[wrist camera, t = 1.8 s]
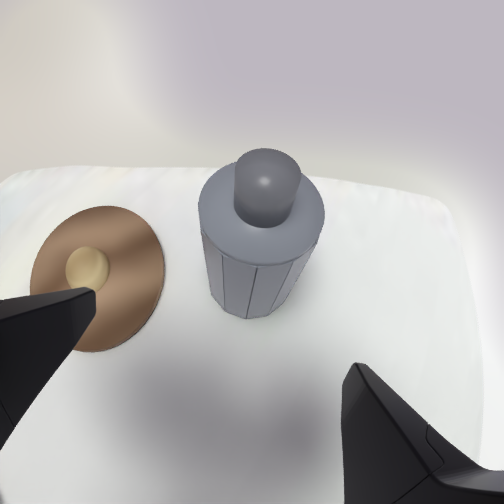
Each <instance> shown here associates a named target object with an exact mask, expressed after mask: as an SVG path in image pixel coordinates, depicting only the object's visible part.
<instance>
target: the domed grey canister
mask: <svg viewBox="0 0 504 504" xmlns="http://www.w3.org/2000/svg"><path fill="white" fill-rule="evenodd" d="M198 211H199V219H200V228H201V235H202V242H203V248H204V254H205V260H206V266H207V272H208V278H209V284H210V290H211V295H212V296H213V298H214V299H215V300H216V301H217V302H218V304H219V305H220V306H221V307H222V308H223V310H224V311H225V312H228V313H231V314H233V315H236V316H239V317H241V318H244V319H250V318H256V317H262V316H267V315H269V314H270V313H271V312H273V311H274V310H275V309H276V308H277V307H279V306H280V305H281V304H282V303H283V302H284V301H285V299H286V297H287V296H288V294H289V292H290V290H291V289H292V287H293V285H294V284H295V282H296V280H297V278H298V277H299V275H300V273H301V271H302V269H303V268H304V266H305V264H306V262H307V261H308V259H309V257H310V255H311V253H312V252H313V250H314V248H315V246H316V244H317V242H318V238H319V235H320V232H321V230H322V227H323V224H324V218H325V211H324V204H323V201H322V198H321V196H320V194H319V192H318V190H317V189H316V187H315V186H314V184H313V183H312V182H311V181H310V180H309V179H308V178H307V177H306V176H305V175H303V174H302V173H301V170H300V168H299V166H298V164H297V163H296V162H295V160H293V158H291V157H290V156H288V155H287V154H285V153H283V152H281V151H278V150H274V149H266V148H261V149H255V150H251V151H249V152H247V153H245V154H243V155H242V156H241V157H240V158H239V159H238V161H237V162H234V163H231V164H229V165H227V166H225V167H223V168H221V169H220V170H218V171H217V172H216V173H214V174H213V175H212V176H211V177H210V178H209V179H208V181H207V182H206V183H205V185H204V187H203V189H202V191H201V194H200V197H199V202H198Z"/></svg>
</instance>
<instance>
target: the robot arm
mask: <svg viewBox="0 0 504 504" xmlns="http://www.w3.org/2000/svg"><path fill="white" fill-rule="evenodd" d="M95 315H96V293H95V291H94V290H93V289H90V288H88V287H80V288H74V289H67V290H61V291H55V292H49V293H42V294H36V295H30V296H23V297H17V298H10V299H4V300H0V450H1V449H2V447H3V446H4V444H5V442H6V441H7V439H8V438H9V436H10V435H11V433H12V432H13V430H14V429H15V427H16V425H17V424H18V423H19V421H20V420H21V418H22V417H23V415H24V414H25V412H26V411H27V409H28V408H29V407H30V405H31V404H32V402H33V401H34V400H35V398H36V397H37V395H38V394H39V393H40V391H41V390H42V389H43V387H44V386H45V385H46V383H47V382H48V381H49V379H50V378H51V377H52V375H53V374H54V373H55V371H56V370H57V369H58V368H59V366H60V365H61V364H62V362H63V361H64V360H65V359H66V357H67V356H68V355H69V354H70V352H71V351H72V350H73V349H74V347H75V346H76V344H77V343H78V341H79V340H80V338H81V337H82V335H83V334H84V332H85V331H86V329H87V328H88V326H89V325H90V323H91V322H92V320H93V319H94V317H95ZM341 433H342V448H343V468H344V504H504V471H493V470H488V469H485V468H483V467H481V466H479V465H478V464H476V463H475V462H474V461H473V460H471V459H470V458H469V457H467V456H466V455H465V454H463V453H462V452H461V451H460V450H458V449H457V448H456V447H455V446H453V445H452V444H451V443H450V442H448V441H447V440H446V439H445V438H444V437H443V436H442V435H440V434H439V433H438V432H437V431H436V430H435V429H434V428H433V427H432V426H431V425H430V424H428V423H427V422H426V421H425V420H424V419H423V418H422V417H421V416H420V415H419V414H418V413H417V412H416V411H415V410H414V409H413V408H412V407H411V406H409V405H408V404H407V403H406V402H405V401H404V400H403V399H402V398H401V397H400V396H399V395H398V394H397V393H396V392H395V391H394V390H393V389H392V388H390V387H389V386H388V385H387V384H386V383H385V382H384V381H383V380H382V379H381V378H380V377H379V376H378V375H377V374H376V373H375V372H374V371H373V370H371V369H370V368H369V367H368V366H367V365H366V364H363V363H357V362H355V363H353V365H352V366H351V368H350V370H349V372H348V374H347V375H346V377H345V379H344V381H343V385H342V410H341Z"/></svg>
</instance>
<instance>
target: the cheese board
mask: <svg viewBox="0 0 504 504" xmlns="http://www.w3.org/2000/svg"><path fill="white" fill-rule="evenodd" d="M163 280H164V259H163V254H162V250H161V247H160V244H159V242H158V240H157V237H156V235H155V233H154V232H153V230H152V228H151V227H150V226H149V225H148V223H147V222H146V221H145V220H144V219H142V218H141V217H140V216H139V215H137V214H135V213H134V212H132V211H130V210H127V209H124V208H121V207H115V206H99V207H93V208H89V209H86V210H83V211H81V212H78V213H76V214H74V215H72V216H71V217H69V218H68V219H66V220H65V221H64V222H62V223H61V224H60V225H59V226H58V227H57V228H56V229H55V230H54V231H53V232H52V233H51V234H50V235H49V236H48V238H47V239H46V240H45V242H44V243H43V245H42V247H41V249H40V250H39V252H38V254H37V257H36V259H35V262H34V265H33V269H32V274H31V280H30V295H36V294H42V293H49V292H55V291H61V290H67V289H74V288H80V287H88V288H90V289H93V290H94V291H95V293H96V315H95V317H94V319H93V320H92V322H91V323H90V325H89V326H88V328H87V329H86V331H85V332H84V334H83V335H82V337H81V338H80V340H79V341H78V343H77V344H76V346H75V347H74V349H73V350H77V351H82V352H98V351H104V350H107V349H111V348H113V347H115V346H118V345H120V344H122V343H123V342H125V341H126V340H128V339H129V338H131V337H132V336H133V335H134V334H135V333H137V332H138V331H139V329H140V328H141V327H142V326H143V325H144V324H145V323H146V321H147V320H148V319H149V317H150V316H151V314H152V312H153V310H154V309H155V307H156V305H157V302H158V300H159V297H160V294H161V290H162V287H163Z"/></svg>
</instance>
